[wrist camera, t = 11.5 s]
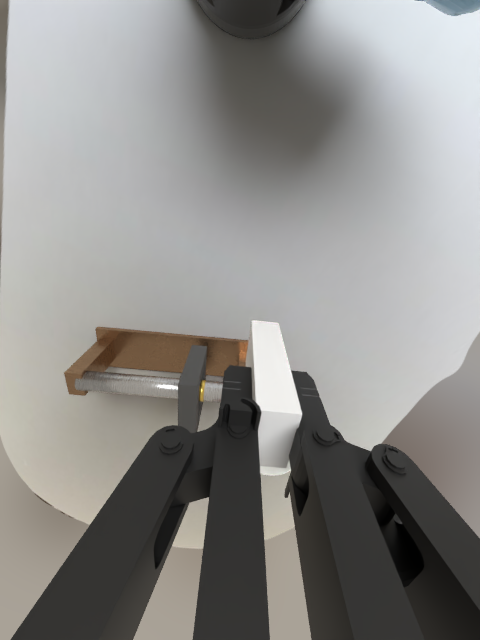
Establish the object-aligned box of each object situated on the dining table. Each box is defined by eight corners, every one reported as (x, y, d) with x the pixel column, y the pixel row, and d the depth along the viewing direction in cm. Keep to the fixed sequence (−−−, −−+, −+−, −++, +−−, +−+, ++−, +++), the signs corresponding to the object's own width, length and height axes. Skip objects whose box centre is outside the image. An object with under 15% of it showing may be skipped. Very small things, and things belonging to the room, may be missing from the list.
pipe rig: (103, 363, 50) (65, 406, 39) (97, 326, 46) (55, 363, 36) (251, 376, 51) (253, 421, 40) (256, 341, 47) (260, 381, 37)
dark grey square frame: (190, 392, 46) (178, 439, 37) (191, 344, 42) (177, 384, 33) (204, 393, 46) (195, 440, 37) (207, 346, 42) (197, 386, 33)
